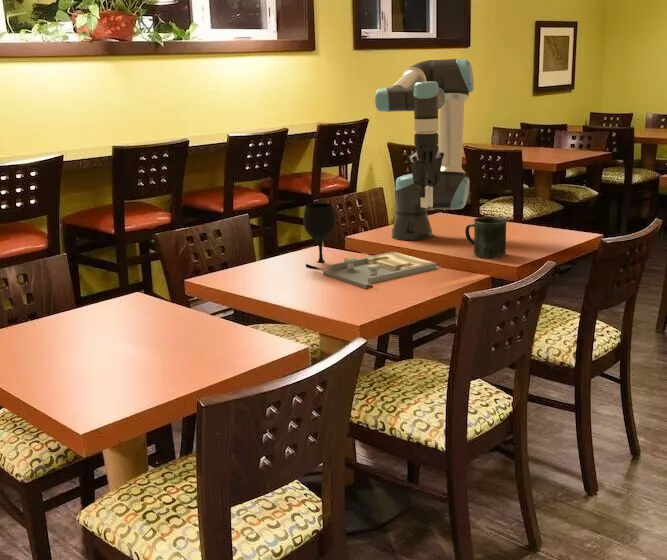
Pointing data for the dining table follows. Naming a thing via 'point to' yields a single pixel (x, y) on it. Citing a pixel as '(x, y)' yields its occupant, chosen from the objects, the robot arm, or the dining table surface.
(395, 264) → the panel
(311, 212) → the wine glass
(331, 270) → the board
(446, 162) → the robot arm
